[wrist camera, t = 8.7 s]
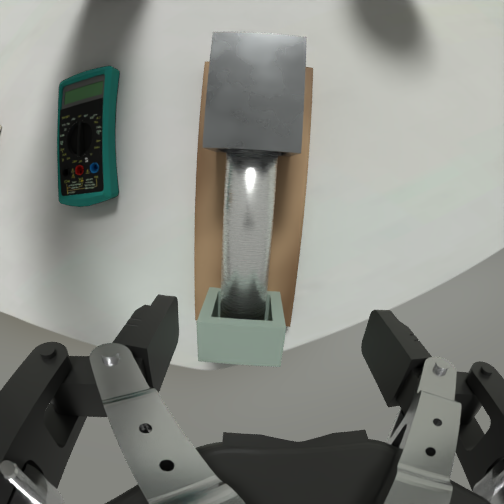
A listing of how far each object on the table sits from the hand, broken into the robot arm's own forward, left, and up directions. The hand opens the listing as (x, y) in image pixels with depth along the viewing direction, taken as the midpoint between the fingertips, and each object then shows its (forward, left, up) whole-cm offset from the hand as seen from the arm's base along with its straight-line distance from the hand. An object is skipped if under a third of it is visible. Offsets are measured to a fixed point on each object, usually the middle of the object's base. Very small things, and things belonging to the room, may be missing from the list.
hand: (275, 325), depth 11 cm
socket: (-1, -8, -16) cm, 18 cm away
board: (-2, +3, -18) cm, 18 cm away
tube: (-1, +1, -15) cm, 15 cm away
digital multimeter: (-19, +9, -18) cm, 28 cm away
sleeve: (-2, +12, -16) cm, 20 cm away
